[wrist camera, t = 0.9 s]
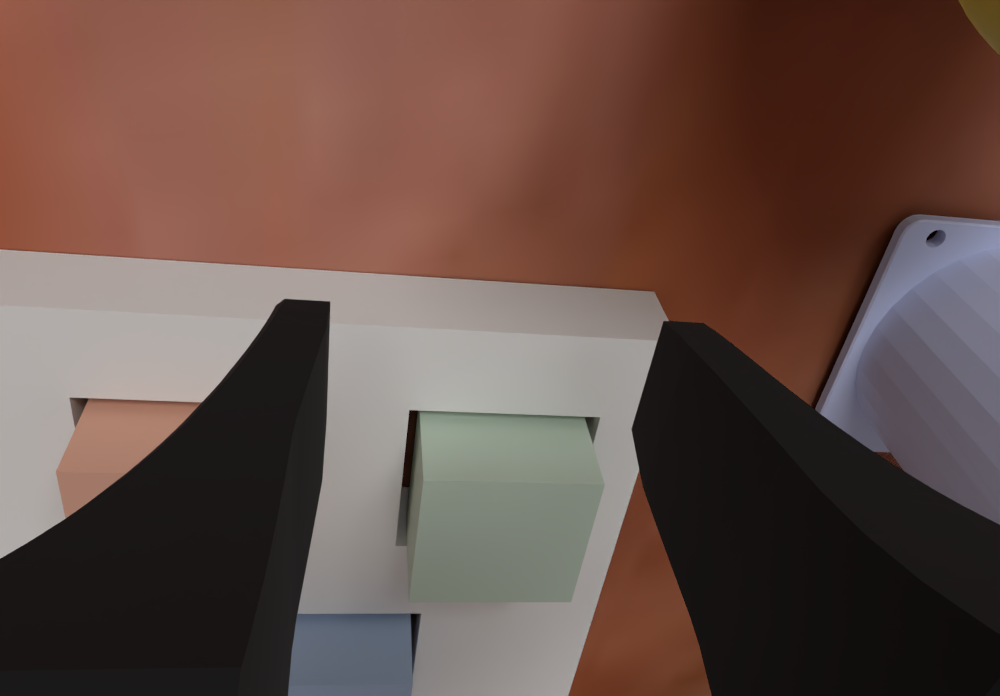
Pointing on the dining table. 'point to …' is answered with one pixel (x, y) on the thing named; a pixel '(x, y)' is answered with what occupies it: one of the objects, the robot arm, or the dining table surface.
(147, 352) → the white button panel
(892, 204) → the dining table surface
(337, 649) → the slate button
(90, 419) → the terracotta button
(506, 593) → the sage button
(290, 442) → the robot arm
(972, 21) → the plant pot
